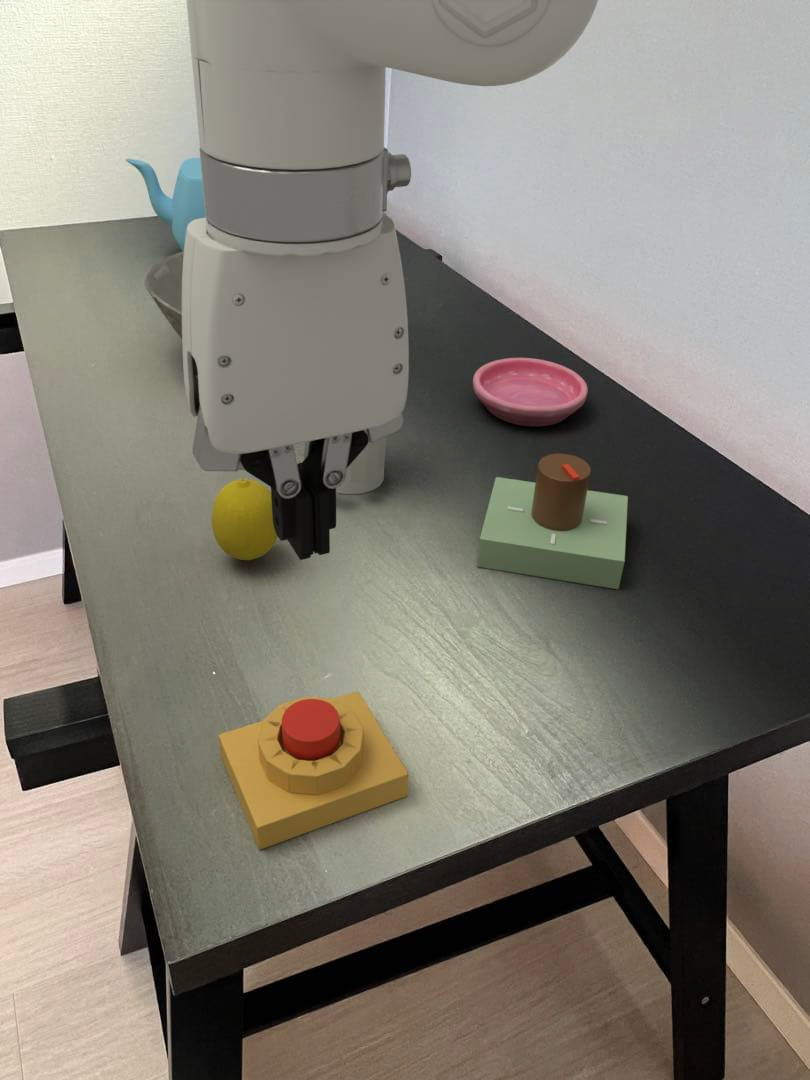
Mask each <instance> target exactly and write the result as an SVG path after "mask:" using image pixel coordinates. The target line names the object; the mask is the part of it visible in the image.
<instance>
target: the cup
mask: <svg viewBox="0 0 810 1080" xmlns="http://www.w3.org/2000/svg"><path fill="white" fill-rule="evenodd" d="M387 441H388V436H387V437H385V438H382V439H380V440H378V441H376V442H373V443H371V442H369V443H368V444H367V446H366V447H365V448H364V449H363V451H362V452H361V453H360V454H359V455H358V456H357V457H356V459H355V460H354V461H353V462H352V463H351V464H350V465H349V467H348V468H347V470H346V477H345V480H344V482H343V483H342V484H341V485H340V486H339V487H337V488H336V494H337V493H338V494H343V495H361V494H365V493H370V492H371V491H374V490H376V489H377V488H379V487H380V486H381V485H382V483H383V482H384V480H385V479H384V478H385V461H386V460H385V459H386V450H387Z"/></svg>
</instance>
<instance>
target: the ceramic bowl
mask: <svg viewBox="0 0 810 1080" xmlns="http://www.w3.org/2000/svg"><path fill="white" fill-rule="evenodd" d="M183 256H184V251H182V250H181V251H180V252H176V253H175V254H171V255H169V256H168V257H166V258H164V259H162V260H161V261H159V262H157V263H155V264H154V265H152V266H151V268H149V269H148V271H147V272H146V274H145V277H144V287H145V289H146V291H147V292H148V293H149V295H150V297H151V298H152V300H153V301H154V302H155V304H156V305H157V307H158V309H159V310H160V312H161V314H162V315H163V316H164V317H165V319H166V320H167V322H169V324H170V326H171V327H172V329H173V331H175V333H176V334H177V335H178V336H179V338H180V339H181V340H182V271H183Z"/></svg>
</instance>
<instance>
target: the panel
mask: <svg viewBox="0 0 810 1080" xmlns="http://www.w3.org/2000/svg"><path fill="white" fill-rule="evenodd" d="M535 483H536V481H535V482H532V481H528V480H527V481H526V480H519V479H515V478H507V477H500V476H496V477H495V479H494V483H493V486H492V491H491V494H490V498H489V502H488V506H487V508H486V513H485V517H484V520H483V524H482V529H481V533H480V534H479V535H480V536H479V539H478V540H479V541H478V550H477V561H476V567H477V568H484V569H489V570H494V571H502V572H508V573H513V574H520V575H526V576H531V577H539V578H543V579H551V580H557V581H564V582H569V583H577V584H582V585H589V586H595V587H600V588H607V589H612V590H619V589H620V586H621V585H620V584H621V581H622V576H623V573H624V572H623V571H624V567H625V562H626V545H627V544H626V543H627V523H628V506H629V505H628V504H629V496H628V495H623V494H616V493H609V492H603V491H602V492H601V491H596V490H595V491H594V490H589V489H588V490H587V496H586V501H585V507H584V512H583V518H582V521H581V523H580V524H579V525H578V526H577V527H575V528H573V529H569V530H553V529H549V528H546V527H543V526H541V525H539V524H538V523H537V522H536V521H535V520H534V519H533V517H532V514H531V511H532V504H533V497H534V490H535Z"/></svg>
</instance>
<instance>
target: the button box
mask: <svg viewBox="0 0 810 1080" xmlns="http://www.w3.org/2000/svg"><path fill="white" fill-rule="evenodd" d="M305 699H319V700H323V701H326V702H328V703H329V704H331V705H332V706H333V707H334V708H335V709H336V710H337V712H338V714H339V717H340V741H339V744H338V746H337V748H336V749H335V750H334V751H333V752H332V753H331V754H330V755H328V756H326V757H324V758H321V759H317V760H303V759H299V758H296V757H294V756H293V755H291V754H290V753H289V752H288V751H287V750H286V749H285V747H284V744H283V737H282V717H283V714H284V712H285V711H286V710H287V708H288V707H290V706H291V705H292V704H294V703H296V702H298V701H301V700H305ZM217 738H218V744H219V745H218V747H219V753H220V758H221V761H222V763H223V766H224V769H225V771H226V773H227V775H228V779H229V780H230V783H231V786H232V788H233V790H234V793H235V794H236V798H237V800H238V802H239V805H240V807H241V810H242V812H243V814H244V817H245V819H246V822H247V823H248V827H249V829H250V831H251V834H252V837H253V839H254V841H255V844H256V846H257V848H258V851H259V850H260V851H261V850H263V849H266V848H269V847H272V846H275V845H277V844H279V843H282V842H286V841H289V840H290V839H293V838H296V837H299V836H302V835H304V834H308V833H309V832H312V831H315V830H318V829H321V828H324V827H326V826H329V825H331V824H335V823H337V822H340V821H342V820H345V819H349V818H350V817H354V816H356V815H359V814H362V813H365V812H367V811H370V810H372V809H375V808H378V807H381V806H384V805H386V804H390V803H392V802H394V801H398V800H400V799H402V798H406V797H407V796H408V788H409V787H408V786H409V773H408V771H407V769H406V767H405V766H404V764H403V763H402V761H401V759H400V758H399V756H398V754H397V752H396V750H395V749H394V747H393V746H392V744H391V742H390V741H389V738H388V737H387V736H386V734H385V732H384V731H383V729H382V728H381V726H380V724H379V722H378V721H377V719H376V717H375V716H374V714H373V712H372V711H371V709H370V708H369V705H368V704H367V702H366V701H365V699H364V697H363V696H362V694H361V692H360V691H359V690H356V691H352V692H350V693H346V694H343V695H341V696H337V697H334V698H328V697H327V698H325V697H315V696H303V697H300V698H297V699H293V700H291V701H287V702H284V703H282V704H281V703H280V705H278V706H277V707H276V708H275V709H274V710H273V711H272V712H270V713H269V714H268V715H267V716H266V717H265V718H264V719H263V720H260V721H258V722H254V723H250V724H248V725H244V726H241V727H238V728H235V729H232V730H229V731H225V732H222V733H220V734H218V735H217Z"/></svg>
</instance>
